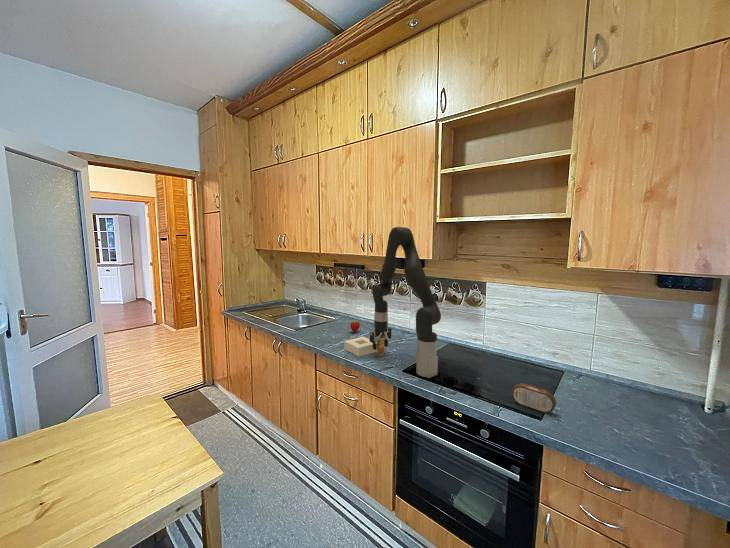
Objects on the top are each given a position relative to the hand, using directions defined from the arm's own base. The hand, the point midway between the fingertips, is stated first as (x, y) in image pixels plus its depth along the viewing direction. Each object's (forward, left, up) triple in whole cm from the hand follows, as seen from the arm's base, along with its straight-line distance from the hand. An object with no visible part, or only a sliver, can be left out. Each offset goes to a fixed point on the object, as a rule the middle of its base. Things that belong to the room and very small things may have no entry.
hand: (380, 347), depth 168 cm
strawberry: (+42, -12, -5) cm, 44 cm away
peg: (0, 0, -5) cm, 5 cm away
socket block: (+13, +4, -5) cm, 14 cm away
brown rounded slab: (-75, -15, -5) cm, 77 cm away
